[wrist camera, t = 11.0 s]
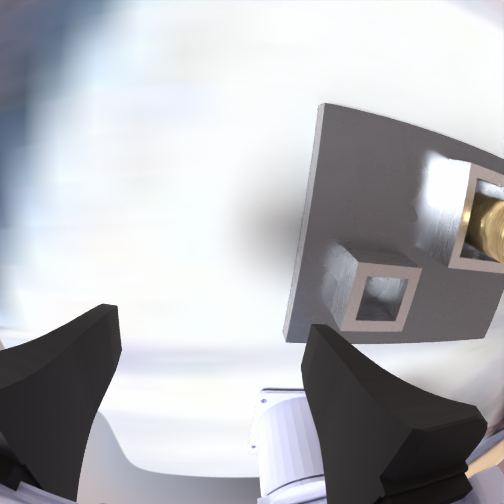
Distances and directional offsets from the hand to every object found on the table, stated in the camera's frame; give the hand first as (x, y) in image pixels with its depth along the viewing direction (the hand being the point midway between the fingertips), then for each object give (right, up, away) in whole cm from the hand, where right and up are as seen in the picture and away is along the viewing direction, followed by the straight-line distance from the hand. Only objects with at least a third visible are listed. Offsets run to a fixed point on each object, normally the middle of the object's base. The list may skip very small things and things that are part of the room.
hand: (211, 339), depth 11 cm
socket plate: (+15, +4, +10) cm, 18 cm away
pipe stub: (+18, +6, +8) cm, 21 cm away
